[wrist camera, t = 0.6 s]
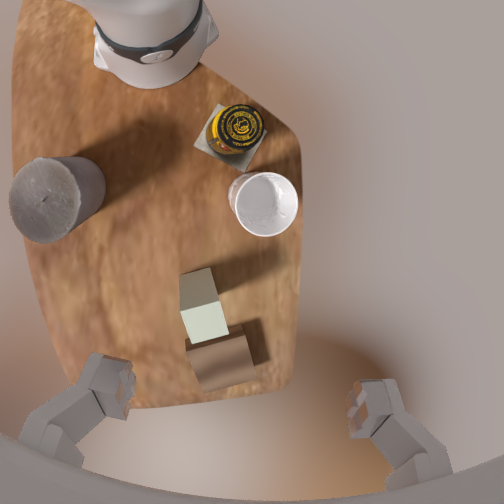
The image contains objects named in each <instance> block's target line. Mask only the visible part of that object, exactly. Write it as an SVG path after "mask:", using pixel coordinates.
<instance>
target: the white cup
mask: <svg viewBox="0 0 504 504" xmlns="http://www.w3.org/2000/svg"><path fill="white" fill-rule="evenodd" d="M228 199H229V202H230V206H231V208H232V210H233V212H234V214H235V215H236V217H237V218H238V220H239V222H240V223H241V225H242V226H243V227H244V228H245V229H246V230H247V231H249V232H251V233H252V234H255V235H258V236H273V235H276V234H279V233H281V232H282V231H284V230H285V229H287V228H288V227H289V226H290V224H291V223H292V222H293V220H294V218H295V216H296V214H297V210H298V196H297V193H296V190H295V188H294V186H293V185H292V183H291V182H290V181H289V180H288V179H286V178H285V177H284V176H282V175H280V174H277V173H273V172H250V173H244V174H242V175H240V176H239V177H237V178H235V179H234V181H233V182H232V184H231V185H230V187H229V193H228Z"/></svg>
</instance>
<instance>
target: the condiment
mask: <svg viewBox="0 0 504 504" xmlns="http://www.w3.org/2000/svg"><path fill="white" fill-rule="evenodd" d="M266 133H267V131H266V130H265V129H264V120H263V119H262V116H261V115H260V114H259V112H258V111H257V110H256V109H254V108H252V107H250V106H248V105H242V104H240V105H239V104H238V105H232V106H228V107H224V106H222V105H220V104H219V103H218V105H217V106H216V108H215V110H214V111H213V113H212V115H211V116H210V118H209V120H208V121H207V123H206V125H205V126H204V128H203V130H202V132H201V133H200V135H199V137H198V139H197V141H196V142H195V144H194V146H195V147H197V148H198V149H200V150H202V151H204V152H206V153H208V154H210V155H212V156H214V157H216V158H218V159H219V160H221V161H223V162H225V163H227V164H229V165H231V166H232V167H234V168H236V169H238V170H240V171H242V172H245V170H246V168H247V166H248V165H249V163H250V161H251V159H252V157H253V155H254V154H255V152H256V150H257V148H258V147H259V145H260V143H261V142H262V140H263V138H264V136H265V135H266Z"/></svg>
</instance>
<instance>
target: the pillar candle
mask: <svg viewBox="0 0 504 504" xmlns="http://www.w3.org/2000/svg"><path fill="white" fill-rule="evenodd" d="M105 192H106V183H105V178H104V175H103V173H102V171H101V169H100V168H99V167H98V166H97V165H96V164H95V163H94V162H92V161H91V160H89V159H87V158H84V157H78V156H77V157H55V158H44V157H38V158H36V159H35V160H32V161H31V162H29V163H27V164H26V165H25V166H23V167H22V168H21V169H20V170H19V171H18V173H17V174H16V176H15V178H14V179H13V181H12V184H11V188H10V192H9V209H10V214H11V216H12V219H13V221H14V223H15V225H16V227H17V228H18V230H19V231H20V232H21V233H22V234H23V235H24V236H26V237H27V238H28V239H30V240H32V241H35V242H37V243H43V244H45V243H53V242H56V241H58V240H60V239H61V238H63V237H64V236H66V235H67V234H68V233H70V232H71V231H72V230H73V229H75V228H76V227H77V226H79V225H80V224H81V223H83V222H84V221H85V220H87V219H88V218H89V217H91V216H92V215H93V214H95V213H96V211H98V209H99V208H100V206H101V205H102V203H103V200H104V197H105Z"/></svg>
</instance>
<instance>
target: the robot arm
mask: <svg viewBox="0 0 504 504" xmlns="http://www.w3.org/2000/svg"><path fill="white" fill-rule="evenodd" d="M66 1H68V2H71V3H74V4H77V5H79V6H81V7H83V8H85V9H86V10H87V11H88V12H89V13H90V14H91V15H92V17H93V18H94V19H95V22H96V26H95V27H94V35H96V40H95V50H94V64H95V66H96V67H97V68H99V69H102V70H105V71H110V72H112V73H114V74H115V75H116V76H117V77H118V78H120V79H121V80H122V81H124V82H125V83H127V84H129V85H131V86H134V87H138V88H145V89H154V88H161V87H165V86H168V85H171V84H173V83H175V82H177V81H179V80H181V79H182V78H184V77H185V76H186V75H188V74H189V73H190V72H191V71H192V70H193V69H194V68H195V66H196V65H197V63H198V62H199V60H200V58H201V56H202V54H203V52H204V50H205V49H206V48H207V47H208V46H209V45H211V44H212V43H213V42H214V41H215V40H216V39H217V37H218V29H217V27H216V25H215V23H214V21H213V19H212V17H211V15H210V13H209V11H208V9H207V7H206V5H205V3H204V1H203V0H66ZM132 367H133V365H132V362H131V361H130V360H126V359H121V358H117V357H112V356H108V355H104V354H100V353H95V352H92V353H91V354H90V356H89V358H88V360H87V362H86V364H85V366H84V368H83V371H82V373H81V375H80V377H79V379H78V382H77V384H76V386H75V385H71V386H70V387H68V388H67V389H65V390H64V391H62V392H61V393H60V394H58V395H57V396H55V397H53V398H52V399H51V400H49V401H48V402H46V403H45V404H43V405H42V406H40V407H39V408H37V409H36V410H34V411H33V412H31V413H30V414H29V416H28V417H27V420H26V422H25V424H24V427H23V429H22V431H21V433H20V436H19V438H18V441H16V440H14V439H12V438H10V437H8V436H6V435H4V434H2V433H0V504H504V455H502V456H499V457H497V458H494V459H492V460H490V461H487V462H485V463H482V464H479V465H477V466H474V467H472V468H469V469H466V470H463V471H460V472H457V473H454V474H453V471H452V467H451V464H450V460H449V457H448V453H447V450H446V447H445V446H444V445H443V444H442V443H441V442H440V441H439V440H438V439H436V438H435V437H434V436H433V435H432V434H431V433H430V432H429V431H428V430H427V429H426V428H425V427H423V426H422V425H421V424H420V423H419V422H418V421H417V420H416V419H415V418H414V417H413V416H412V415H411V414H410V413H406V412H405V409H404V406H403V402H402V399H401V396H400V393H399V390H398V387H397V384H396V381H395V380H394V379H372V380H357V381H356V382H355V383H354V385H353V387H354V390H352V391H350V392H349V394H348V395H347V397H346V402H345V410H346V415H347V416H348V417H349V418H350V419H351V420H350V422H349V423H348V428H349V433H350V438H351V439H355V438H370V439H371V440H372V441H373V443H374V444H375V445H376V447H377V448H378V449H379V450H380V452H381V453H382V454H383V455H384V457H385V458H386V459H387V460H388V461H389V463H390V464H391V465H392V467H393V468H394V469H395V471H394V472H393V473H391V474H390V475H388V476H387V477H386V478H385V484H386V491H383V492H377V493H371V494H364V495H357V496H350V497H341V498H332V499H319V500H303V501H302V500H300V501H252V500H235V499H234V500H233V499H222V498H212V497H203V496H196V495H189V494H182V493H176V492H170V491H165V490H159V489H155V488H150V487H145V486H141V485H136V484H132V483H128V482H124V481H121V480H117V479H114V478H110V477H107V476H104V475H100V474H97V473H93V472H91V471H88V470H85V469H82V464H83V461H84V455H83V453H82V452H81V451H80V450H79V449H78V448H77V446H76V444H77V443H78V442H79V441H80V440H81V439H82V438H83V437H84V436H86V435H87V434H88V433H89V432H90V431H91V430H92V429H93V428H94V427H95V426H97V425H98V424H99V423H100V422H101V421H102V420H103V419H104V418H105V416H108V417H112V418H116V419H121V420H125V421H126V420H127V416H128V413H129V410H130V407H131V406H130V403H129V401H128V400H130V399H131V398H132V397H134V393H135V389H136V376H135V373H134V372H133V371H132Z"/></svg>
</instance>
